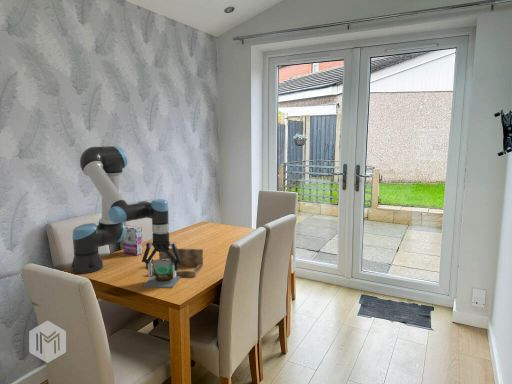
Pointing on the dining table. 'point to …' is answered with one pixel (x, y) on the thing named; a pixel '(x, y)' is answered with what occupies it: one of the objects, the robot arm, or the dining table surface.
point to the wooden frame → (186, 260)
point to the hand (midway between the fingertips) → (162, 276)
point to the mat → (161, 282)
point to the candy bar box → (133, 240)
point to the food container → (163, 269)
